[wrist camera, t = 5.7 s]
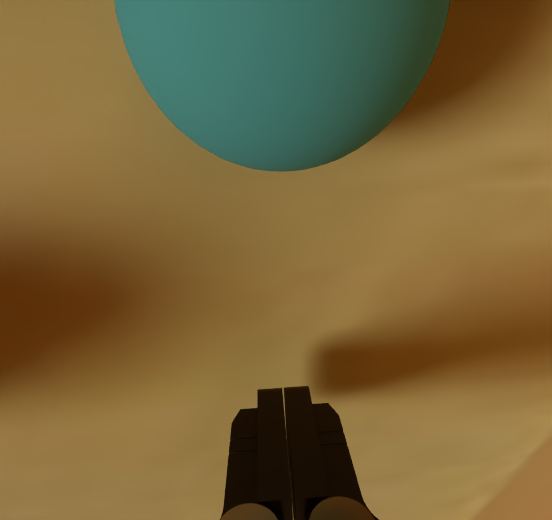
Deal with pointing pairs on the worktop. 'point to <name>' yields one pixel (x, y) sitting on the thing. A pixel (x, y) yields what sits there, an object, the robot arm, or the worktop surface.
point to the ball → (281, 71)
